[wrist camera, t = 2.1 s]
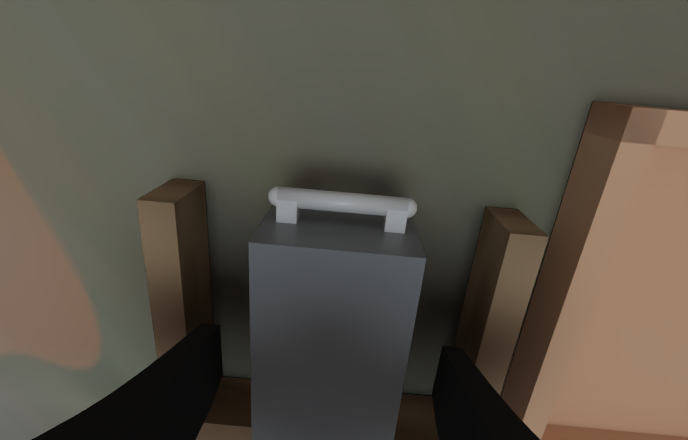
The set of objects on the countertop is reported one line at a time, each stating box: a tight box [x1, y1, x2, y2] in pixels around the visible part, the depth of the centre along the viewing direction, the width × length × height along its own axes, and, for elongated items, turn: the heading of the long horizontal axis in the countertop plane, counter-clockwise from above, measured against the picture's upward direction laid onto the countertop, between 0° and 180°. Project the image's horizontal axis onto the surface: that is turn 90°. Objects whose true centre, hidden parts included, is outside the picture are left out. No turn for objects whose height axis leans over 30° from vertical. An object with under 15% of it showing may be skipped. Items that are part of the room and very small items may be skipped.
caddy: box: [249, 186, 426, 440], centre depth 14 cm, size 10×5×5 cm, turn 175°
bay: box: [136, 179, 549, 440], centre depth 15 cm, size 10×13×2 cm
